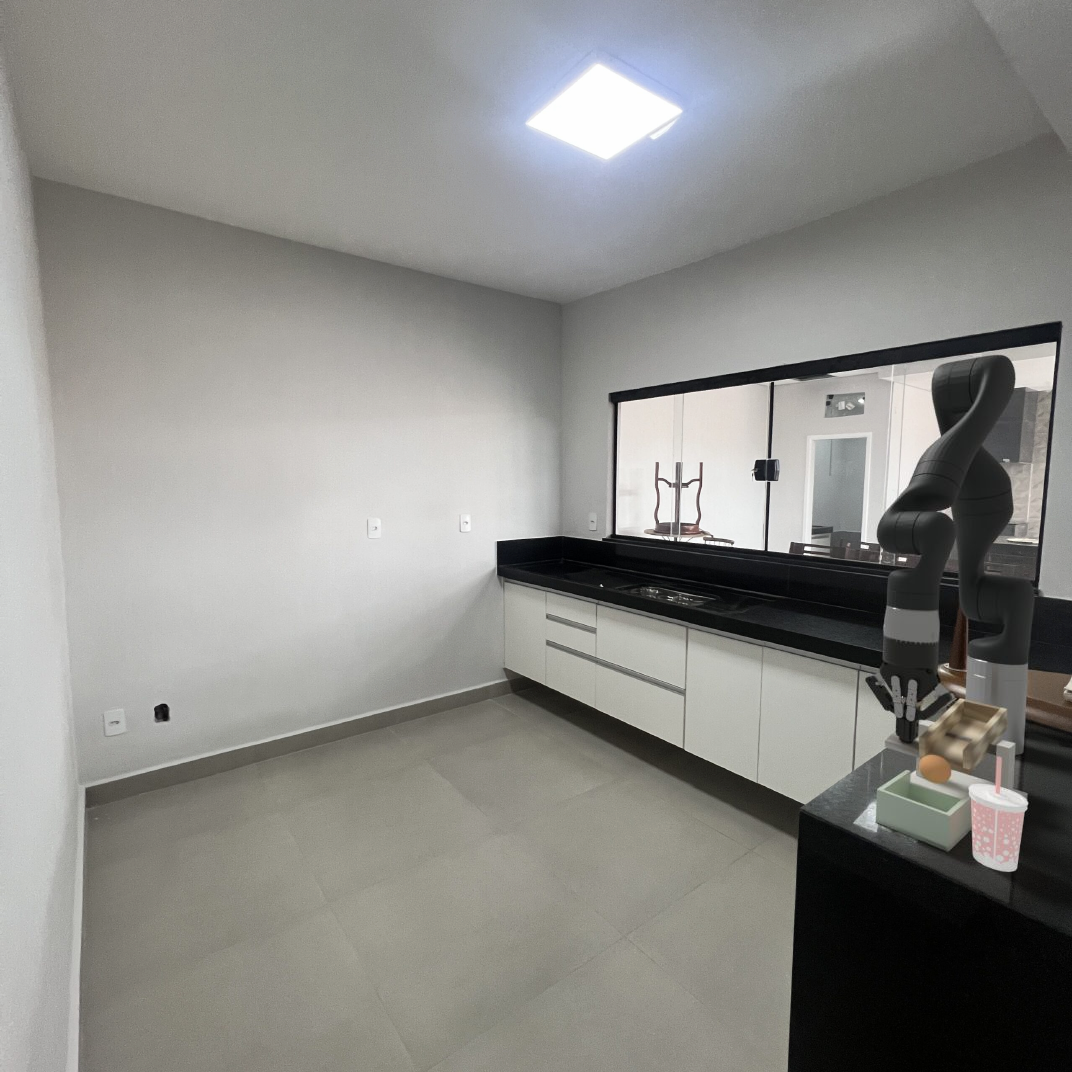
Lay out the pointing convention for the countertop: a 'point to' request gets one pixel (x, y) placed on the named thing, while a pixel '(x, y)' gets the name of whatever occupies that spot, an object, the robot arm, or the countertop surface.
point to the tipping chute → (958, 735)
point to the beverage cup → (996, 824)
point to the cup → (923, 812)
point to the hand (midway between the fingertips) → (906, 740)
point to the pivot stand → (962, 782)
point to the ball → (935, 769)
